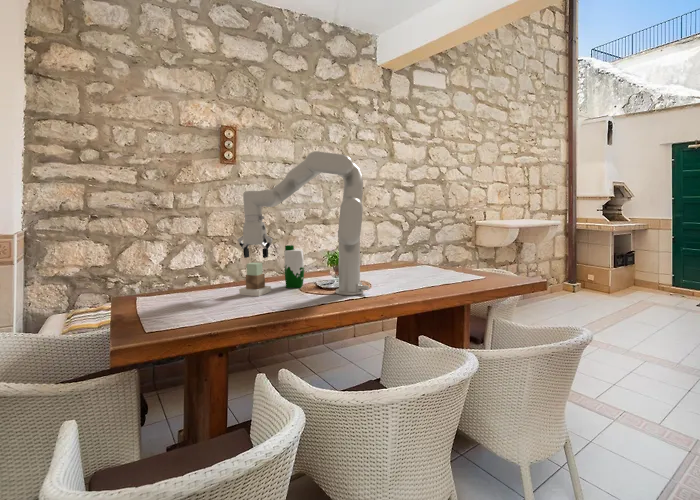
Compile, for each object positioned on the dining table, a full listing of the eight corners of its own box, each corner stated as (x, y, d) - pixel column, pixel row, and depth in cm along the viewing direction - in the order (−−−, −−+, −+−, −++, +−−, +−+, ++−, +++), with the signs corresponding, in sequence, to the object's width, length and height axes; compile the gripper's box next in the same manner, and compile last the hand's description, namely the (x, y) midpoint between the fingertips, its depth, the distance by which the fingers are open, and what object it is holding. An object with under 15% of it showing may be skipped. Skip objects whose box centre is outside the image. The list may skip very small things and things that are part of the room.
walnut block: (264, 286, 185) (264, 273, 184) (257, 289, 179) (257, 275, 179) (253, 285, 187) (253, 273, 186) (246, 288, 181) (245, 275, 181)
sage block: (262, 273, 184) (262, 262, 184) (256, 275, 179) (256, 264, 179) (252, 273, 186) (252, 262, 185) (246, 275, 181) (246, 264, 180)
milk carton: (287, 284, 202) (286, 244, 200) (305, 284, 202) (304, 244, 200) (283, 288, 194) (282, 246, 191) (302, 288, 193) (302, 246, 191)
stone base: (270, 291, 186) (270, 286, 186) (259, 296, 177) (258, 290, 177) (252, 290, 190) (251, 284, 189) (239, 294, 180) (239, 289, 180)
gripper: (275, 218, 180) (277, 256, 182) (241, 219, 186) (244, 256, 188) (266, 218, 173) (268, 258, 175) (231, 220, 179) (234, 258, 181)
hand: (256, 257), depth 182 cm, fingers open, 9 cm apart
